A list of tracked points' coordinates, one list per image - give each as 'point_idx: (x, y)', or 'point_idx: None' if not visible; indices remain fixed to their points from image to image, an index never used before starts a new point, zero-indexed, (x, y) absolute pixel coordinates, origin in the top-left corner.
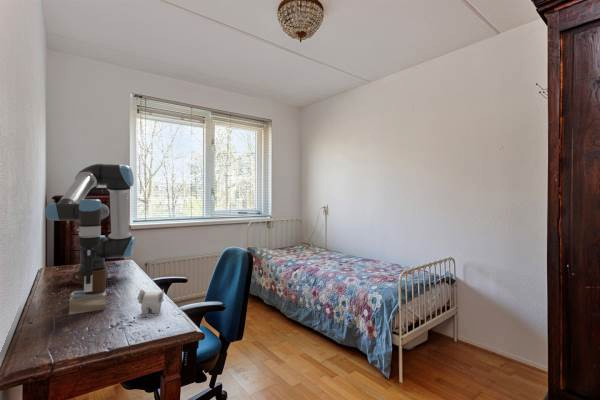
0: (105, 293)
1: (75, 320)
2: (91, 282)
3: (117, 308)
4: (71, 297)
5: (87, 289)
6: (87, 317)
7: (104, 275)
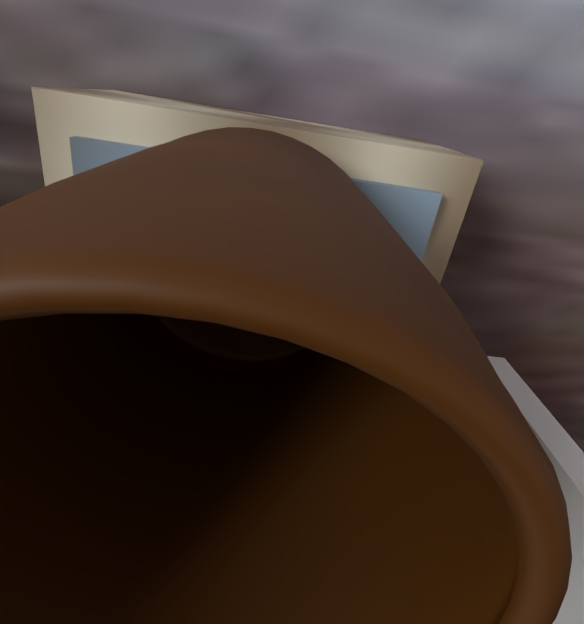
0: (381, 148)
1: (515, 357)
2: (582, 472)
3: (498, 23)
4: None
5: None
6: (522, 293)
7: (408, 250)
